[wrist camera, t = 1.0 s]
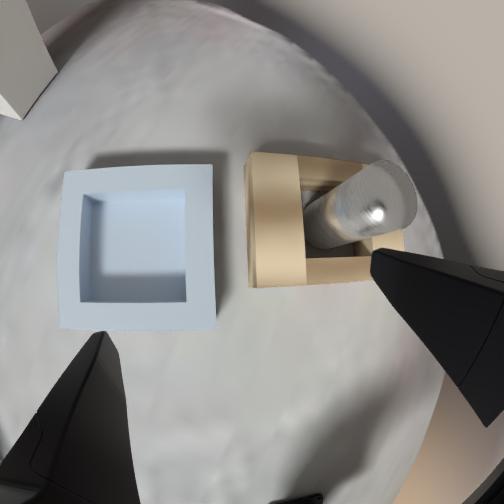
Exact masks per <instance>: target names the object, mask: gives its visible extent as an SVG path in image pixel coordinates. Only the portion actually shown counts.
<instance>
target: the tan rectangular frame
mask: <svg viewBox="0 0 504 504" xmlns="http://www.w3.org/2000/svg"><path fill="white" fill-rule="evenodd" d="M368 165H370V164H363V163H357V162H350V161H343V160H336V159H328V158H320V157H311V156H301V155H291V154H279V153H265V152H251V153H250V155H249V157H248V159H247V162H246V164H245V166H244V175H245V201H246V226H247V251H248V275H249V287H250V288H268V287H285V286H302V285H316V284H330V283H343V282H355V281H367V280H373V278H372V277H371V274H370V264H371V254H372V252H373V251H374V250H376V249H379V248H388V249H394V250H399V251H404V242H403V232H402V229H400V230H396V231H393V232H389V233H385V234H382V235H378V236H374V237H371V238H367V239H363V240H359V241H356V242H354V250H355V257H335V258H306V257H305V241H304V227H303V214H302V201H301V190H310V191H325V192H329V191H331V190H332V189H334V188H335V187H337V186H338V185H340V184H341V183H343V182H344V181H346V180H347V179H349V178H350V177H352V176H353V175H355V174H356V173H358V172H359V171H361V170H362V169H364V168H365V167H367V166H368Z"/></svg>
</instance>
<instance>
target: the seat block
mask: <svg viewBox="0 0 504 504" xmlns="http://www.w3.org/2000/svg"><path fill="white" fill-rule="evenodd" d="M212 167H213V164H174V165H143V166H125V167H110V168H98V169H87V170H77V171H68V172H65V175H64V182H63V189H62V197H61V205H60V215H59V228H58V246H57V292H58V311H59V323H60V328H62V329H78V330H99V331H197V330H217V323H216V303H215V279H214V248H213V181H212Z"/></svg>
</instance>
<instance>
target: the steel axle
mask: <svg viewBox="0 0 504 504" xmlns="http://www.w3.org/2000/svg"><path fill="white" fill-rule="evenodd" d="M416 211H417V197H416V192H415V189H414V186H413V184H412V182H411V180H410V178H409V177H408V175H407V174H406V173H405V172H404V171H403V170H402V169H401V168H400V167H399V166H398V165H396V164H395V163H393V162H391V161H387V160H378V161H375V162H373V163H372V164H370V165H368V166H367V167H365V168H364V169H362V170H361V171H359V172H358V173H356V174H355V175H353V176H352V177H350V178H349V179H347V180H346V181H344V182H343V183H341V184H340V185H338V186H337V187H335V188H334V189H332V190H331V191H329V192H328V193H326V194H324V195H323V196H321V197H320V198H318V199H317V200H315V201H314V202H312V203H311V204H309V205H308V206H307V207H306V208H305V209H304V211H303V213H302V214H303V227H304V237H305V239H306V240H307V241H308V242H309V243H310V244H311V245H313V246H314V247H316V248H319V249H329V248H333V247H337V246H341V245H344V244H348V243H352V242H356V241H359V240H363V239H367V238H371V237H374V236H378V235H382V234H385V233H389V232H393V231H396V230H400V229H404V228H406V227H407V226H409V225H410V224H411V223H412V221H413V220H414V218H415V215H416Z"/></svg>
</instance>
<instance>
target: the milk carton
mask: <svg viewBox="0 0 504 504" xmlns="http://www.w3.org/2000/svg"><path fill="white" fill-rule="evenodd" d="M57 72H58V71H57V69H56V67H55V65H54V63H53V61H52V59H51V57H50V55H49V53H48V50H47V48H46V46H45V44H44V42H43V40H42V38H41V35H40V33H39V31H38V29H37V26H36V24H35V22H34V19H33V17H32V14H31V12H30V9H29V7H28V4H27V2H26V0H0V114H2V115H5V116H9V117H12V118H15V119H18V120H23V118H24V117H25V115H26V114H27V112H28V111H29V109H30V108H31V106H32V105H33V104H34V102H35V101H36V99H37V98H38V97H39V95H40V94H41V93H42V91H43V90H44V89H45V87H46V86H47V85H48V84H49V82H50V81H51V80H52V79H53V77H54V76H55V75H56V74H57Z"/></svg>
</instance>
